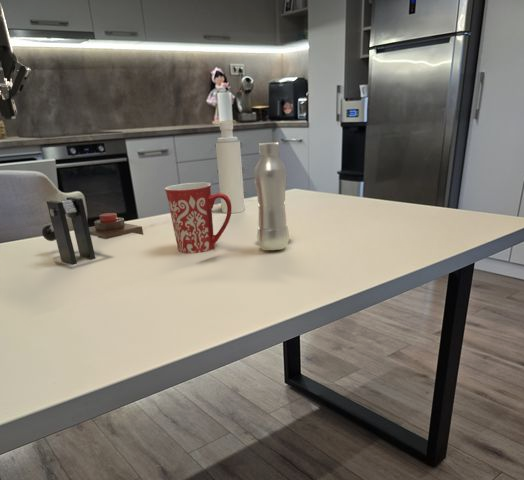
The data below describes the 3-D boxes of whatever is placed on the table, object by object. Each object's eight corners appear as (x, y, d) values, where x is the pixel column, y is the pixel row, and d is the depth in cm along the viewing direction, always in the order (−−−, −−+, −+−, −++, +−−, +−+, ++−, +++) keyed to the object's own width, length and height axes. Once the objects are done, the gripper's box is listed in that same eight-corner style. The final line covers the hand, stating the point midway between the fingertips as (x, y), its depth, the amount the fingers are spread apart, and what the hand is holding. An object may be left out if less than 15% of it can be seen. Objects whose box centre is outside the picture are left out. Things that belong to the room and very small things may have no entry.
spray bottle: (244, 212, 135) (237, 114, 124) (221, 214, 135) (211, 115, 124) (245, 208, 141) (238, 114, 130) (222, 209, 141) (213, 115, 130)
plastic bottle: (252, 253, 96) (245, 145, 87) (265, 244, 102) (259, 142, 93) (282, 254, 94) (278, 144, 85) (294, 245, 100) (291, 141, 91)
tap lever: (44, 244, 99) (37, 230, 99) (59, 241, 101) (52, 227, 101) (64, 215, 88) (56, 199, 88) (80, 212, 91) (73, 197, 90)
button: (97, 222, 116) (96, 215, 115) (112, 219, 118) (110, 212, 118) (106, 224, 113) (104, 216, 113) (121, 221, 116) (119, 213, 115)
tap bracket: (49, 267, 96) (31, 201, 90) (85, 257, 101) (71, 194, 95) (74, 275, 90) (56, 205, 84) (111, 264, 95) (97, 198, 89)
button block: (81, 238, 118) (77, 221, 116) (116, 230, 124) (113, 214, 123) (107, 244, 111) (104, 227, 109) (143, 235, 117) (140, 218, 115)
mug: (167, 260, 95) (156, 190, 89) (182, 248, 103) (174, 183, 97) (229, 260, 93) (222, 187, 86) (239, 248, 100) (234, 180, 94)
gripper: (26, 21, 96) (48, 117, 104) (-41, 25, 96) (-13, 121, 104) (10, 14, 90) (35, 117, 97) (-61, 19, 89) (-30, 121, 97)
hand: (10, 119), depth 101 cm, fingers closed
